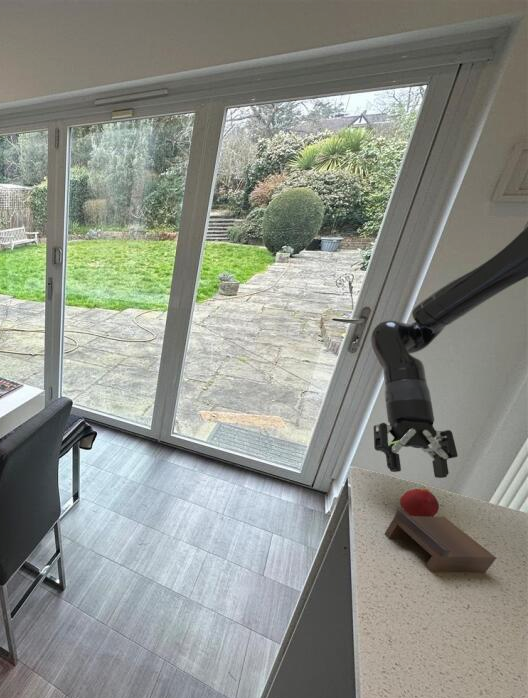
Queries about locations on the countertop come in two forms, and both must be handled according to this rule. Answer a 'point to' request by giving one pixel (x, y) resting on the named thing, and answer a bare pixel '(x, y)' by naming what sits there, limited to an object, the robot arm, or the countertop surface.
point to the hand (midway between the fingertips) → (418, 474)
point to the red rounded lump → (419, 502)
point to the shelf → (442, 543)
